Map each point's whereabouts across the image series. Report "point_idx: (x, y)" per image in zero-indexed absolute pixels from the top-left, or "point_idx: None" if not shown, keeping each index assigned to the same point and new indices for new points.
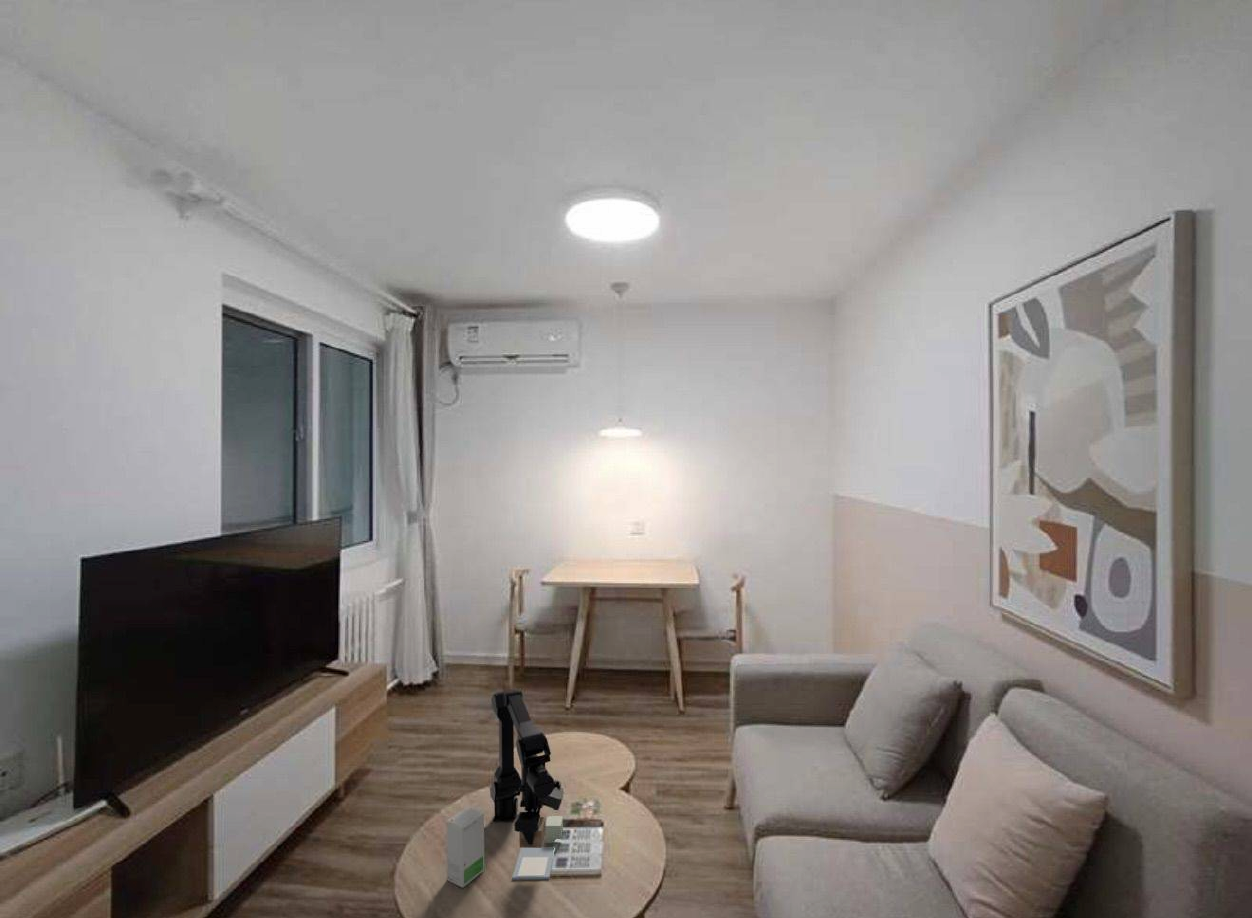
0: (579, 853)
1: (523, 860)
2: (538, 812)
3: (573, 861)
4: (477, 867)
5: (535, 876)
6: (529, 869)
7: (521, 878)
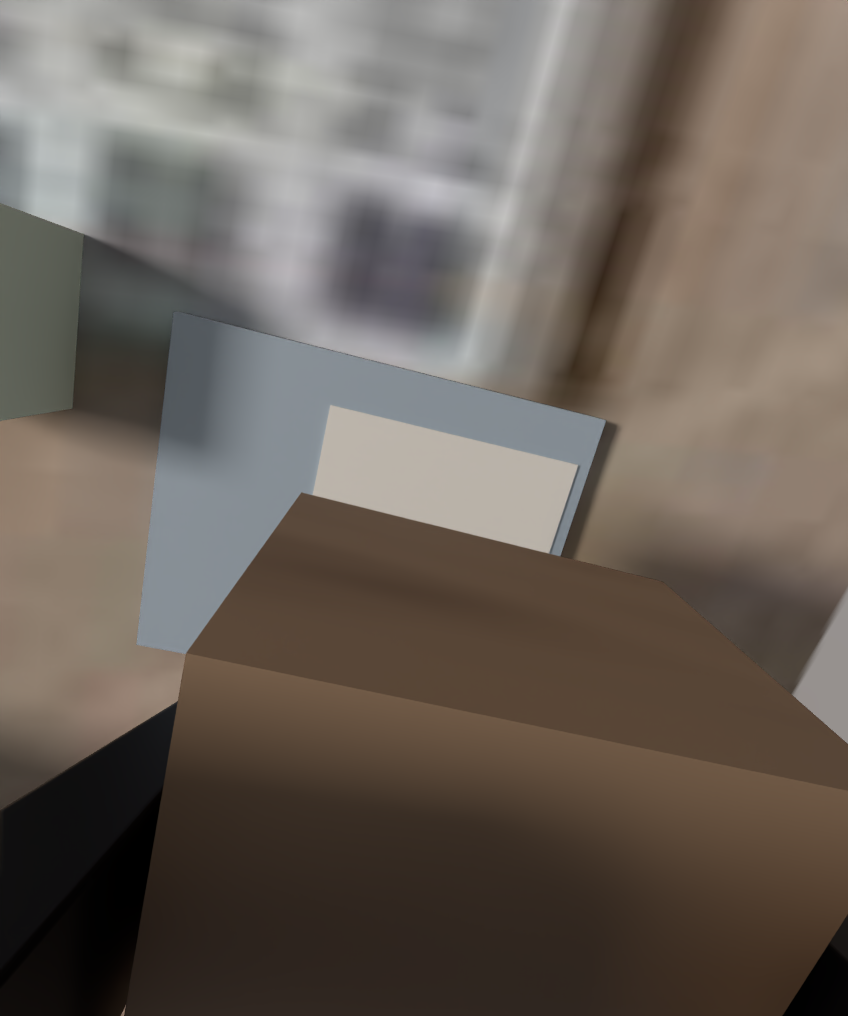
0: (304, 28)
1: None
2: (9, 1013)
3: (422, 132)
4: None
5: (559, 540)
6: None
7: None
